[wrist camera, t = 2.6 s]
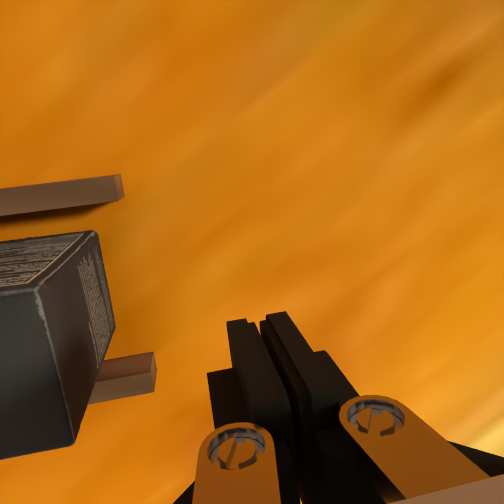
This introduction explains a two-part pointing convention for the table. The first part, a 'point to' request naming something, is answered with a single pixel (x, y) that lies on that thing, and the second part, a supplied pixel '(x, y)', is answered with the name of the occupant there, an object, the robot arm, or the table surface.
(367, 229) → the table surface
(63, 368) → the small box
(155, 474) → the table surface
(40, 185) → the chute
